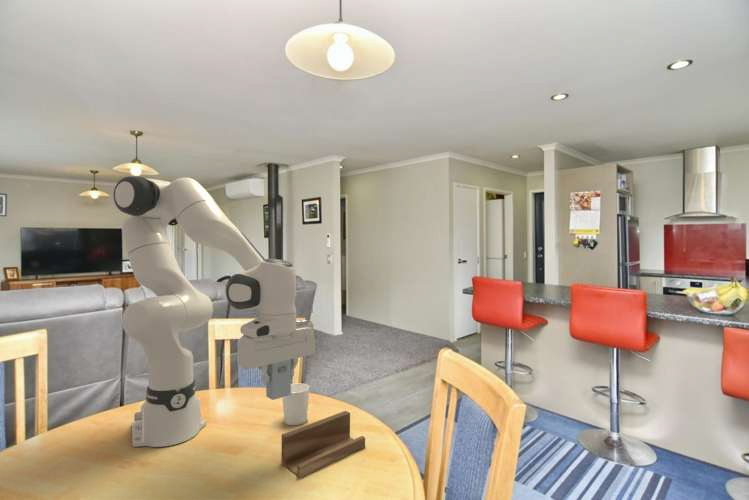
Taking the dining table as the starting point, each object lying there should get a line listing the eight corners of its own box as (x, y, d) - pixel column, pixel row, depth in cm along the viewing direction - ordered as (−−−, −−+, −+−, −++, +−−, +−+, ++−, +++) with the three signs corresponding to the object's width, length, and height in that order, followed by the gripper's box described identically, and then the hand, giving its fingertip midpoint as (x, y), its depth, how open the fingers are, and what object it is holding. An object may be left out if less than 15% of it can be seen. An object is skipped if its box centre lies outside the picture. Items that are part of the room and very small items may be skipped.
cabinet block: (266, 396, 97) (266, 360, 97) (284, 391, 100) (284, 356, 100) (274, 400, 94) (274, 363, 94) (292, 395, 97) (292, 359, 97)
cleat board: (281, 463, 94) (281, 434, 94) (345, 435, 108) (345, 410, 108) (300, 477, 88) (300, 447, 88) (365, 446, 102) (365, 420, 102)
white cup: (303, 427, 113) (303, 393, 113) (277, 425, 114) (277, 391, 114) (312, 416, 120) (312, 384, 120) (288, 413, 122) (289, 382, 122)
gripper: (306, 317, 107) (306, 367, 107) (233, 327, 93) (234, 385, 93) (319, 320, 102) (320, 372, 102) (245, 331, 88) (245, 392, 88)
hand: (278, 379), depth 97 cm, fingers closed on cabinet block, 5 cm apart
